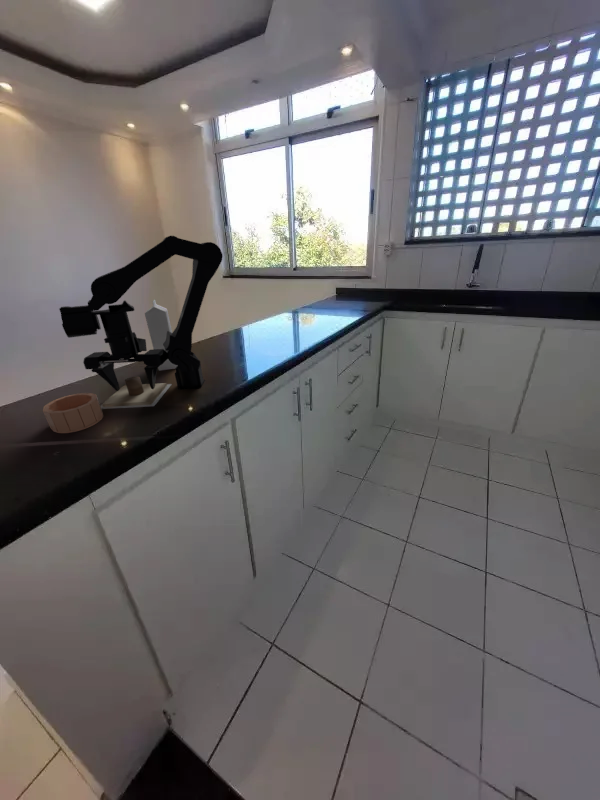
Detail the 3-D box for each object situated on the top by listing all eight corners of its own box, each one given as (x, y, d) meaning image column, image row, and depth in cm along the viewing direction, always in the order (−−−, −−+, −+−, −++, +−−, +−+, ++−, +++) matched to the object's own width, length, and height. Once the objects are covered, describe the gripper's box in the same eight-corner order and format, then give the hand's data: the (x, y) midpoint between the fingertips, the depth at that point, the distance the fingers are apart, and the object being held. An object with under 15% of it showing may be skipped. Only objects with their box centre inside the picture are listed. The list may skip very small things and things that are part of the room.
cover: (167, 385, 89) (163, 369, 87) (151, 404, 78) (146, 387, 76) (124, 387, 88) (120, 372, 86) (103, 406, 78) (96, 389, 76)
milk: (159, 372, 101) (141, 302, 91) (161, 366, 106) (144, 299, 96) (178, 369, 102) (163, 300, 93) (179, 364, 108) (164, 298, 98)
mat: (172, 385, 90) (171, 384, 90) (154, 408, 77) (153, 406, 77) (123, 388, 90) (123, 386, 89) (97, 411, 77) (96, 409, 77)
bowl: (112, 412, 76) (105, 391, 74) (89, 433, 67) (80, 411, 65) (70, 414, 76) (62, 394, 74) (42, 436, 67) (31, 414, 65)
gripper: (168, 322, 83) (180, 376, 90) (97, 325, 83) (114, 379, 89) (152, 332, 73) (167, 392, 80) (72, 336, 73) (93, 396, 79)
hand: (135, 389), depth 83 cm, fingers open, 9 cm apart
